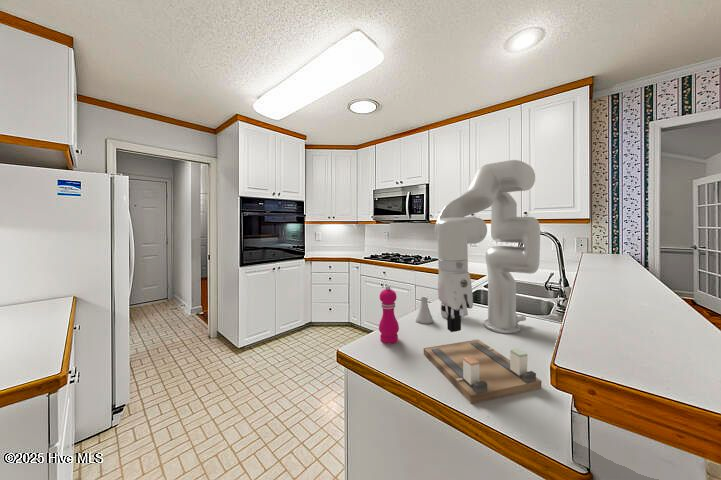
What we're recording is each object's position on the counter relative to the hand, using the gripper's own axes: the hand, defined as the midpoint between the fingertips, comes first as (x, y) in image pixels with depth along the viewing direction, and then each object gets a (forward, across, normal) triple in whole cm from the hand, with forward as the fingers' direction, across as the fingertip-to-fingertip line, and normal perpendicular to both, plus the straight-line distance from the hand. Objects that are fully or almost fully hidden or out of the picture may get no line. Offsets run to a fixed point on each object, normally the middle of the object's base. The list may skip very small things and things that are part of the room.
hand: (454, 330), depth 75 cm
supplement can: (+14, +37, -22) cm, 45 cm away
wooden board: (+12, -1, -6) cm, 14 cm away
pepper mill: (+12, +24, +11) cm, 30 cm away
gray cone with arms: (+13, +36, -9) cm, 40 cm away
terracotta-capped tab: (+9, -8, +1) cm, 13 cm away
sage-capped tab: (+10, -9, -13) cm, 18 cm away
